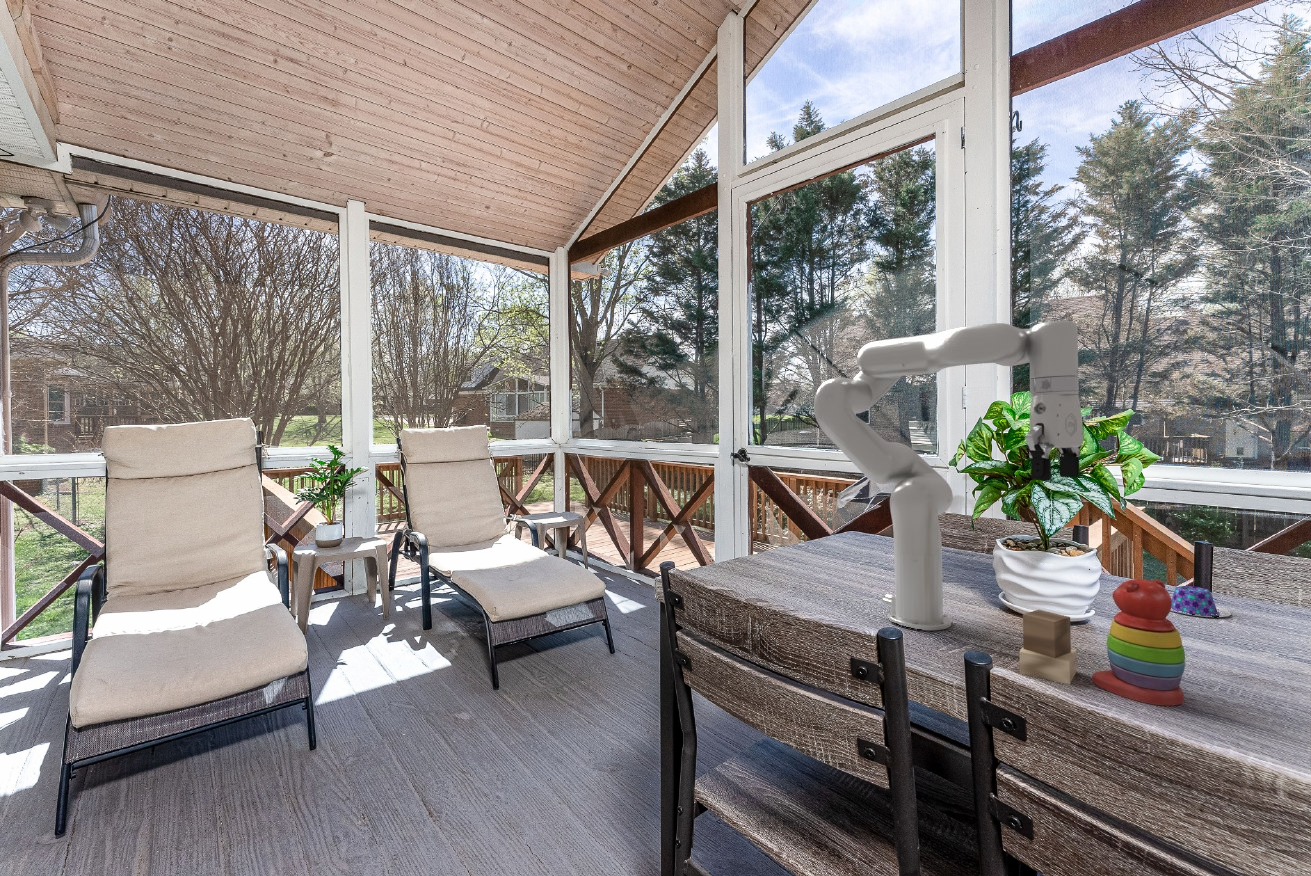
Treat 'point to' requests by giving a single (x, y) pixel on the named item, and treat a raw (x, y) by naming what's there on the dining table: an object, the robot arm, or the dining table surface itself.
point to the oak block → (1048, 666)
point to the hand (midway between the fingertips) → (1055, 478)
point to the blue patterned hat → (1195, 601)
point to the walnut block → (1046, 633)
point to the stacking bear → (1144, 646)
